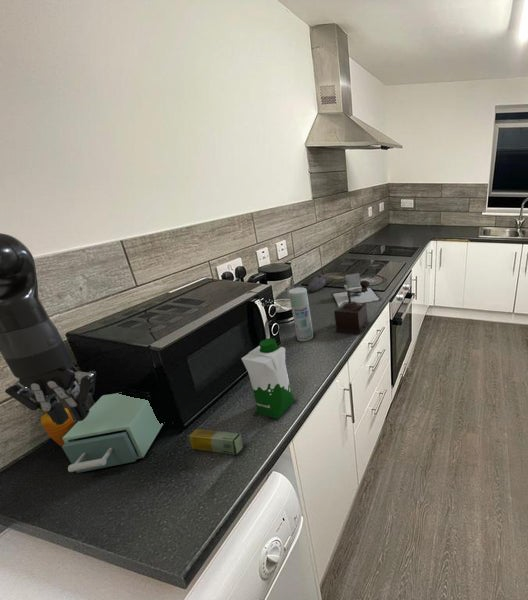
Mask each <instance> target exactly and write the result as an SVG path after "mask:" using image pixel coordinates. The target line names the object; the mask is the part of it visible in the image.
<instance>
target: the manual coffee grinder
mask: <svg viewBox="0 0 528 600" xmlns="http://www.w3.org/2000/svg"><path fill="white" fill-rule="evenodd" d="M360 285H361V287H362V288H361V289H362V290H361V291H358V292H353V293H350V290H347V291H346V292H347V295H348V299H349V302H343V303H342V304H341V305H340V306H338V307H337V308H336V309H334V311H333V313H334V319H335V320H334V321H335V329H336V333H343V334H355V335H357V334H358V335H359V334H361V333H363V331H364V330H365V329H366V327H367V325H368V323H369V321H368V312H367V311H368V310H367V302H364V303H359V302H354V301H351V297H350V295H353V294H357V293H362V292H364V293H365V292H366V291H368V290H367V288H369V286H370V282H369V281H368V280H365V279H364V280H360Z"/></svg>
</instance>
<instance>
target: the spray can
mask: <svg viewBox="0 0 528 600" xmlns="http://www.w3.org/2000/svg"><path fill="white" fill-rule="evenodd" d="M288 297H289V302H290V307H291V312H292V318H293V324H294V328H295V329H294V330H295V334H296V339H297V340H298V341H299V342H306V341H307V342H308V341H310V340H312V339H313V338H314V331H313V330H314V329H313V323H312V315H311V310H310V304H309V297H308V288H306V287H303V286H302V287H301V286H300V287H299V286H298V287H293V288H291V289H289V290H288Z"/></svg>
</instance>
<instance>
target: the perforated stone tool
mask: <svg viewBox="0 0 528 600" xmlns="http://www.w3.org/2000/svg"><path fill="white" fill-rule="evenodd" d="M325 286H326V278H325V275H324V274H323V273H321V274H318V275H317V276H315V277H313V278H312V279H311V280H309V282H308V285H307V291H308V292H309V293H314V292H317V291H319V290H321V289H323V287H325Z"/></svg>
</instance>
